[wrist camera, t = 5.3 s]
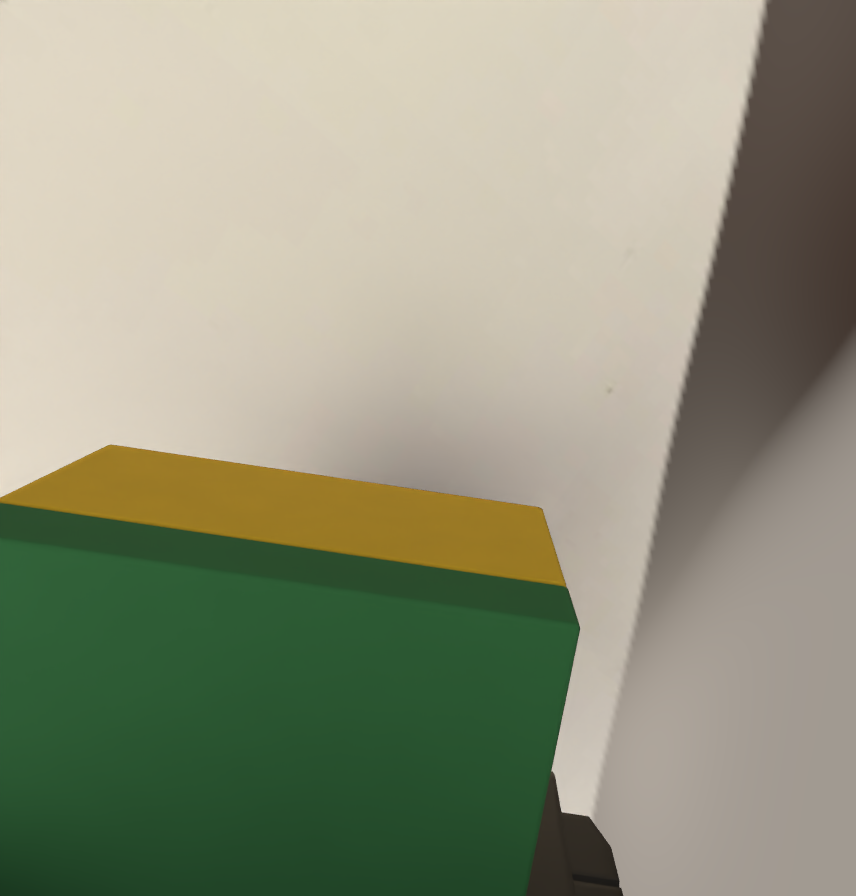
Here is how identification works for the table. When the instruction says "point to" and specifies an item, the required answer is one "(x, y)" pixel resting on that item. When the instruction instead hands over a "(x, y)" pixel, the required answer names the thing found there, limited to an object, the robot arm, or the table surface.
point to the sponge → (272, 683)
